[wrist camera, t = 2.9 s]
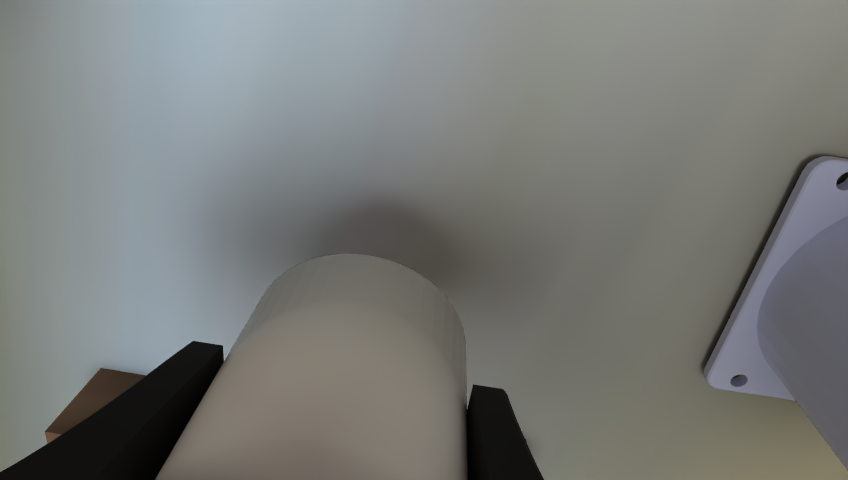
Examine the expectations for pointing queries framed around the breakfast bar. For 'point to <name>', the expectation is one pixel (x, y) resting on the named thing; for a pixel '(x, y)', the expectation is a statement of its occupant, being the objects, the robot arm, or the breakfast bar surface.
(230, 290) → the breakfast bar surface
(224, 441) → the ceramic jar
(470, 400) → the robot arm
